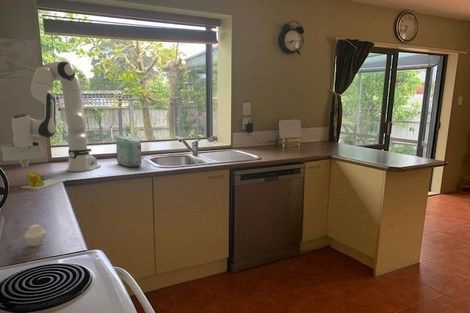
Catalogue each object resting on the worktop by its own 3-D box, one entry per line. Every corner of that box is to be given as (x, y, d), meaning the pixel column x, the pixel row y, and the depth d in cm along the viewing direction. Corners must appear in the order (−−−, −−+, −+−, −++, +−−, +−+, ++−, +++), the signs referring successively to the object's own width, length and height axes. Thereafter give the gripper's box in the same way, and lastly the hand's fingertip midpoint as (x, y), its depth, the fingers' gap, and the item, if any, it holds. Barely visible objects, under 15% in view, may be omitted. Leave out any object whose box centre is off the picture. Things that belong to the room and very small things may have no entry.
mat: (50, 179, 199) (50, 178, 199) (65, 180, 196) (65, 180, 196) (20, 187, 180) (20, 187, 180) (36, 189, 177) (36, 188, 177)
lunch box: (114, 163, 251) (112, 135, 248) (127, 162, 258) (126, 134, 254) (129, 169, 232) (128, 138, 228) (143, 167, 239) (142, 137, 235)
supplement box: (26, 173, 187) (31, 176, 179) (38, 171, 191) (43, 174, 183) (27, 183, 188) (32, 187, 180) (39, 181, 192) (44, 185, 184)
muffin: (21, 245, 109) (19, 225, 108) (41, 239, 114) (39, 219, 113) (31, 250, 106) (29, 229, 104) (50, 243, 111) (49, 223, 109)
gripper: (0, 145, 180) (3, 170, 183) (43, 142, 192) (45, 166, 194) (0, 143, 185) (3, 168, 188) (42, 141, 197) (44, 164, 199)
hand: (25, 167), depth 191 cm, fingers closed
